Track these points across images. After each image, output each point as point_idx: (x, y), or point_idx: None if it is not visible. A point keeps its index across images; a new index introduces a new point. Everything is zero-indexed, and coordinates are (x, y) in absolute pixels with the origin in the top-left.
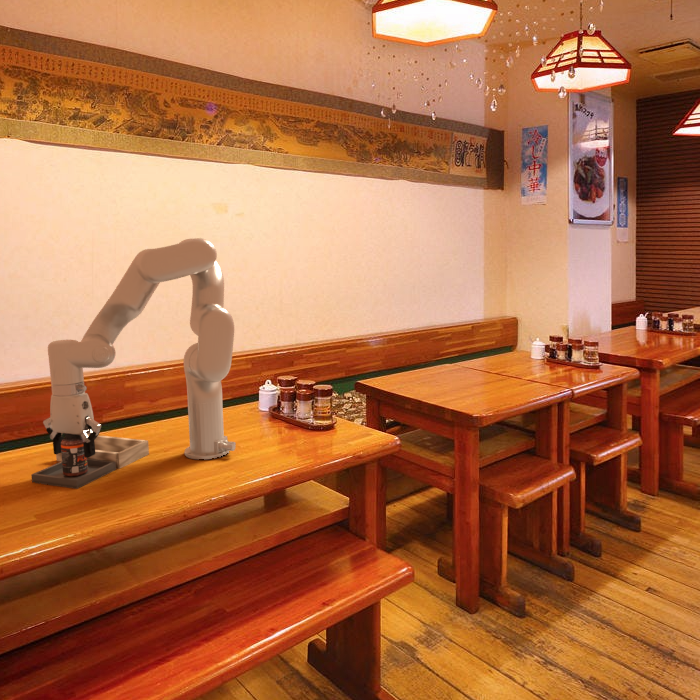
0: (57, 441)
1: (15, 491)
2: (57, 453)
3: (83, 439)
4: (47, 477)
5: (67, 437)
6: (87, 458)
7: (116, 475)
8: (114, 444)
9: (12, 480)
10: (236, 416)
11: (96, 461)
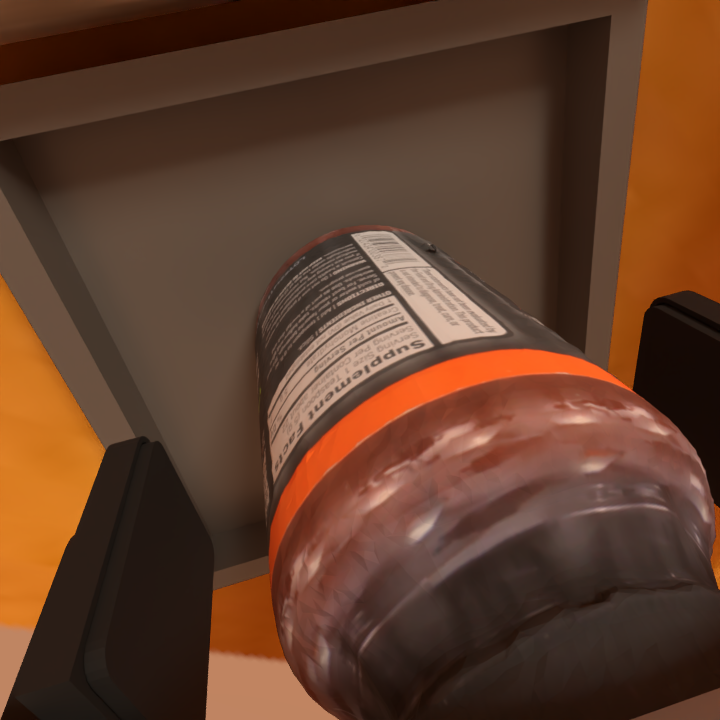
0: (185, 706)
1: (265, 626)
2: (210, 540)
3: (713, 513)
4: None
5: None
6: (131, 3)
7: (675, 119)
8: None
9: (29, 599)
10: None
11: (387, 60)
